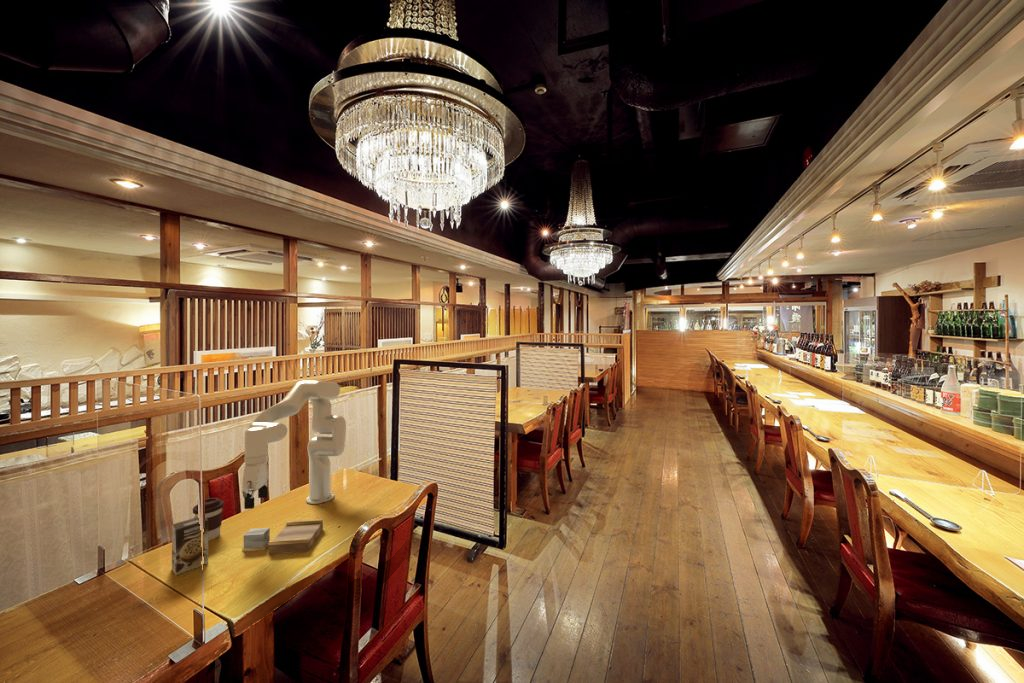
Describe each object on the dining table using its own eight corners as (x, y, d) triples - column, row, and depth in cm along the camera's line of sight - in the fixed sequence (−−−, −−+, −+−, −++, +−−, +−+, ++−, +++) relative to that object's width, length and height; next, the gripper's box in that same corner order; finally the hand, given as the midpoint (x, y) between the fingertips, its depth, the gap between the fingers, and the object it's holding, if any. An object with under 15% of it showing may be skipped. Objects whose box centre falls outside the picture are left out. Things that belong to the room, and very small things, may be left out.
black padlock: (249, 544, 147) (249, 529, 147) (270, 543, 148) (270, 527, 148) (242, 551, 143) (242, 535, 142) (264, 549, 144) (264, 534, 144)
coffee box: (175, 576, 127) (175, 529, 127) (171, 569, 131) (171, 524, 131) (209, 563, 135) (208, 519, 134) (203, 557, 139) (203, 514, 138)
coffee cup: (210, 544, 147) (210, 506, 147) (186, 544, 147) (185, 506, 147) (230, 531, 157) (229, 496, 157) (207, 530, 157) (206, 495, 157)
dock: (287, 532, 156) (287, 521, 156) (322, 529, 158) (322, 518, 158) (268, 554, 141) (268, 542, 140) (308, 551, 143) (307, 539, 143)
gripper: (257, 452, 153) (257, 494, 153) (232, 467, 136) (232, 513, 136) (277, 452, 154) (277, 493, 154) (255, 466, 137) (254, 512, 137)
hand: (256, 502), depth 145 cm, fingers open, 9 cm apart
